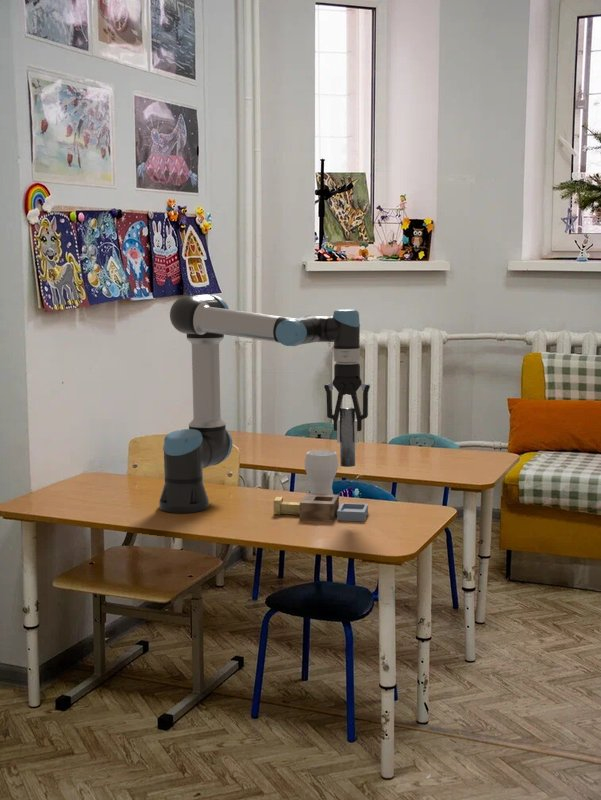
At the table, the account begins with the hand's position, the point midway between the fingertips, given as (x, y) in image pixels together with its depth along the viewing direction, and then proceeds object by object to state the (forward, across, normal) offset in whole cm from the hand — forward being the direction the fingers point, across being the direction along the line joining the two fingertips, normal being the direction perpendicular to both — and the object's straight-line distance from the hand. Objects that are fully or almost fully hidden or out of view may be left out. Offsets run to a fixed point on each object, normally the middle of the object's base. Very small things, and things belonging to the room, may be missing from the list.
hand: (347, 441), depth 294 cm
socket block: (+22, -9, 0) cm, 24 cm away
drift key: (+22, -16, 0) cm, 27 cm away
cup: (+22, -11, +20) cm, 32 cm away
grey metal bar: (+7, 0, 0) cm, 7 cm away
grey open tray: (+23, +1, 0) cm, 23 cm away
